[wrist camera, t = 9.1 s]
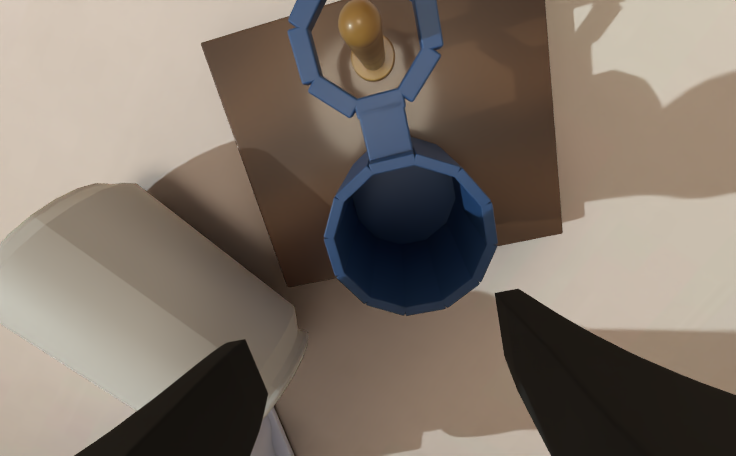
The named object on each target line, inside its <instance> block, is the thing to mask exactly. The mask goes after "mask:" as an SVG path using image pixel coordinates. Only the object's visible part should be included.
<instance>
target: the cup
mask: <svg viewBox="0 0 736 456" xmlns="http://www.w3.org/2000/svg"><path fill="white" fill-rule="evenodd" d="M326 1H327V0H297V1H296V3H295V5H294V7H293V10H292V12H291V14H290V16H289V18H288V21H289V23H290V24H292V25H293V26H294V27H295V28H292V29H289V30H288V36H289V40H290V44H291V47H292V51H293V54H294V58H295V61H296V65H297V68H298V72H299V75H300V79H301V82H302V84H303V85H310V87H309V89H308V92H309V93H310V94H311V95H313V96H315V97H316V98H318V99H319V100H321V101H323V102H324V103H326V104H327V105H329V106H331V107H332V108H334V109H335V110H337V111H338V112H340V113H342V114H343V115H345V116H346V117H348V118H352V117H353V116H354V114H355V112H356V115H357V118H358V119H359V120H360V124H361V128H362V133H363V137H364V141H365V145H366V149H367V151H366V152H365V153H364V154H363V155H362V156H361V157H360V158H359V159H358V160H357V161H356V162H355V163H354V164H353V166H352V167H351V169H350V171H349V172H348V174H347V176H346V178H345V179H344V181H343V183H342V185H341V186H340V188H339V190H338V192H337V193H336V195H335V197H334V199H333V203H332V206H331V210H330V214H329V218H328V222H327V225H326V229H325V233H324V237H325V238H324V242H325V245H326V248H327V252H328V255H329V258H330V261H331V265H332V268H333V271H334V274H335V276H337V277H336V278H337V279H338V280H339V281H340V282H341V283H342V284H343V285H345V286H346V287H347V288H348V289H349V290H350V291H351V292H352V293H353V294H354V295H355V296H356V297H357V298H358V299H360V300H361V301H362V302H363V303H364V304H365V303H366V305H368V306H371V307H375V308H378V309H382V310H385V311H389V312H393V313H396V314H400V315H405V314H406V316H408V315H414V314H419V313H425V312H431V311H436V310H442V309H445V308H446V307H447V308H448V307H450V306H451V305H452V304H454V303H455V302H456V301H458V300H459V299H460V298H462V297H463V296H464V295H466V294H467V293H468V292H470V291H471V290H472V289H474V288H475V287H476V286H478V285H479V282H481V281H482V279H483V277H484V275H485V273H486V270H487V268H488V266H489V264H490V261H491V259H492V257H493V255H494V253H495V250H496V248H497V245H496V244H497V243H498V240H497V232H496V225H495V218H494V211H493V204H492V202H491V200H490V198H489V197H488V196H487V195H486V194H485V193H484V192H483V190H482V189H481V188H480V187H479V186H478V185H477V184H476V182H475V181H474V180H473V179H472V178H471V177H470V176H469V175H468V173H467V172H466V171H465V170H464V169H463V168H462V167H461V166H460V165H459V164H458V163H457V162H456V161H455V160H453V159H452V158H451V157H450V156H449V155H448V154H447V153H446V152H445V151H444V150H443V149H442V148H440V147H439V146H438V145H436V144H433V143H430V142H427V141H424V140H420V139H417V138H414V137H411V136H410V131H409V126H408V121H407V116H406V111H405V107H406V103H405V99H407V100H408V101H410V102H413V101H414V100H415V98H416V97H417V95H418V94H419V92H420V90H421V89H422V87H423V85H424V84H425V82H426V80H427V79H428V77H429V76H430V74H431V72H432V71H433V69H434V67H435V66H436V64H437V62H438V61H439V59H440V58H441V54H440V53H439V52H437V51H436V50H438V49H440V48H441V47H442V46H443V37H442V31H441V25H440V19H439V13H438V7H437V0H410V1H411V2H412V5H413V11H414V16H415V22H416V27H417V33H418V38H419V44H420V51H419V53H418V55H417V56H416V58H415V60H414V61H413V63H412V65H411V66H410V68H409V70H408V72H407V73H406V75H405V77H404V78H403V80H402V82H401V83H400V85H399V87H398V88H395V89H392V90H388V91H384V92H380V93H377V94H373V95H369V96H365V97H362V98H356V97H355V96H353V95H351V94H350V93H348V92H347V91H345V90H344V89H342V88H341V87H339V86H337V85H336V84H334V83H333V82H331V81H330V80H328V79H326V78H325V77H323V74H322V70H321V66H320V63H319V59H318V55H317V51H316V48H315V44H314V40H313V36H312V30H313V28H314V26H315V23H316V21H317V19H318V17H319V15H320V13H321V11H322V9H323V7H324V5H325V3H326ZM445 306H446V307H445Z"/></svg>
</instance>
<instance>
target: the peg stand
mask: <svg viewBox="0 0 736 456" xmlns="http://www.w3.org/2000/svg"><path fill="white" fill-rule="evenodd" d="M437 7H438V13H439V19H440V25H441V31H442V37H443V46H442V47H441V48H440V49H438V50H436V51H437V52H439V53H440V54H441V58H440V59H439V61H438V62H437V64H436V66H435V67H434V69H433V71H432V72H431V74H430V76H429V77H428V79H427V80H426V82H425V84H424V85H423V87H422V89H421V90H420V92H419V94H418V95H417V97H416V98H415V100H414V101H413V102H410V101H408V100H407V99H405V103H406V107H405V111H406V116H407V121H408V126H409V131H410V136H411V137H414V138H417V139H420V140H424V141H427V142H430V143H433V144H436V145H438V146H439V147H440V148H442V149H443V150H444V151H445V152H446V153H447V154H448V155H449V156H450V157H451V158H452V159H453V160H455V161H456V162H457V163H458V164H459V165H460V166H461V167H462V168H463V169H464V170H465V171H466V172H467V173H468V175H469V176H470V177H471V178H472V179H473V180H474V181H475V182H476V184H477V185H478V186H479V187H480V188H481V189H482V190H483V192H484V193H485V194H486V195H487V196H488V197H489V198H490V200H491V202H492V204H493V211H494V218H495V225H496V232H497V240H498V243H497V244H496V245H497V246H501V245H506V244H511V243H516V242H521V241H526V240H531V239H536V238H541V237H546V236H551V235H557V234H562V232H563V231H562V218H561V205H560V192H559V179H558V166H557V153H556V140H555V127H554V114H553V101H552V88H551V75H550V62H549V49H548V36H547V23H546V10H545V0H437ZM288 18H289V16H288V17H285V18H281V19H278V20H275V21H272V22H268V23H265V24H262V25H258V26H255V27H252V28H249V29H245V30H242V31H239V32H235V33H232V34H229V35H226V36H222V37H219V38H216V39H212V40H209V41H206V42H203V43H201V46H202V49H203V51H204V54H205V57H206V60H207V63H208V65H209V68H210V71H211V74H212V77H213V79H214V82H215V85H216V88H217V91H218V93H219V96H220V99H221V102H222V105H223V107H224V110H225V113H226V116H227V119H228V121H229V124H230V127H231V130H232V133H233V135H234V138H235V141H236V144H237V147H238V149H239V152H240V155H241V158H242V161H243V163H244V166H245V169H246V172H247V175H248V177H249V180H250V183H251V186H252V189H253V191H254V194H255V197H256V200H257V203H258V205H259V208H260V211H261V214H262V217H263V220H264V222H265V225H266V228H267V231H268V234H269V236H270V239H271V242H272V245H273V248H274V250H275V253H276V256H277V259H278V262H279V264H280V267H281V270H282V273H283V276H284V278H285V281H286V284H287V287H293V286H298V285H303V284H308V283H314V282H319V281H324V280H329V279H334V278H336V277H337V276H335V274H334V271H333V268H332V265H331V261H330V258H329V255H328V252H327V248H326V245H325V242H324V238H325V237H324V233H325V229H326V225H327V222H328V218H329V214H330V210H331V206H332V203H333V199H334V197H335V195H336V193H337V192H338V190H339V188H340V186H341V185H342V183H343V181H344V179H345V178H346V176H347V174H348V172H349V171H350V169H351V167H352V166H353V164H354V163H355V162H356V161H357V160H358V159H359V158H360V157H361V156H362V155H363V154H364V153H365V152H366V151H367V149H366V145H365V141H364V137H363V133H362V128H361V124H360V120H359V119H358V118H357V115H356V112H355V114H354V116H353V117H352V118H348V117H346V116H345V115H343V114H342V113H340V112H338V111H337V110H335V109H334V108H332V107H331V106H329V105H327V104H326V103H324V102H323V101H321V100H319V99H318V98H316V97H315V96H313V95H311V94H310V93H309V92H308V89H309V87H310V85H303V84H302V82H301V79H300V75H299V72H298V68H297V65H296V61H295V58H294V54H293V51H292V47H291V44H290V40H289V36H288V30H289V29H292V28H295V27H294V26H293V25H292V24H290V23H289V21H288ZM312 36H313V40H314V44H315V48H316V51H317V55H318V59H319V63H320V66H321V70H322V74H323V77H325V78H326V79H328V80H330V81H331V82H333V83H334V84H336V85H337V86H339V87H341V88H342V89H344V90H345V91H347V92H348V93H350V94H351V95H353V96H355V97H356V98H362V97H365V96H369V95H373V94H377V93H380V92H384V91H388V90H392V89H395V88H398V87H399V85H400V83H401V82H402V80H403V78H404V77H405V75H406V73H407V72H408V70H409V68H410V66H411V65H412V63H413V61H414V60H415V58H416V56H417V55H418V53H419V51H420V44H419V38H418V33H417V27H416V22H415V16H414V11H413V5H412V2H411V1H410V0H341V1H337V2H334V3H331V4H327V5H324V7H323V9H322V11H321V13H320V15H319V17H318V19H317V21H316V23H315V26H314V28H313V30H312Z"/></svg>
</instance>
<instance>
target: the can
mask: <svg viewBox="0 0 736 456" xmlns="http://www.w3.org/2000/svg"><path fill="white" fill-rule="evenodd" d="M0 324H1V325H2V326H4V327H6V328H7V329H9V330H10V331H12V332H13V333H15V334H17V335H18V336H20V337H21V338H23V339H24V340H26V341H27V342H29V343H31V344H32V345H34V346H35V347H37V348H38V349H40V350H42V351H43V352H45V353H46V354H48V355H49V356H51V357H52V358H54V359H56V360H57V361H59V362H60V363H62V364H63V365H65V366H67V367H68V368H70V369H71V370H73V371H74V372H76V373H78V374H79V375H81V376H82V377H84V378H85V379H87V380H88V381H90V382H92V383H93V384H95V385H96V386H98V387H99V388H101V389H103V390H104V391H106V392H107V393H109V394H110V395H112V396H113V397H115V398H117V399H118V400H120V401H121V402H123V403H124V404H126V405H128V406H129V407H131V408H132V409H134V410H135V411H138V410H139V409H140V408H142V407H143V406H144V405H146V404H147V403H148V402H150V401H151V400H152V399H154V398H155V397H156V396H158V395H159V394H160V393H161V392H163V391H164V390H165V389H166V388H168V387H169V386H170V385H171V384H173V383H174V382H175V381H176V380H178V379H179V378H180V377H181V376H183V375H184V374H185V373H186V372H188V371H189V370H190V369H191V368H193V367H194V366H195V365H196V364H198V363H199V362H200V361H201V360H203V359H204V358H205V357H207V356H208V355H209V354H210V353H212V352H213V351H214V350H216V349H217V348H219V347H220V346H222V345H223V344H225V343H227V342H232V341H237V340H243V339H246V342H247V344H248V347H249V349H250V351H251V354H252V356H253V358H254V361H255V363H256V365H257V368H258V370H259V373H260V375H261V377H262V380H263V382H264V384H265V387H266V389H267V392H268V397H267V402H266V407H265V411H264V416H263V419H264V418H265V417H266V416H267V415H268V413H269V412H270V410H271V409H272V408H273V406H274V405H275V404H276V402H277V401H278V399H279V398H280V397H281V395H282V394H283V392H284V391H285V389H286V387H287V386H288V384H289V382H290V381H291V379H292V378H293V376H294V374H295V372H296V370H297V368H298V366H299V364H300V362H301V360H302V358H303V356H304V353H305V350H306V347H307V345H308V332H306V331H305V330H304V329H301V330H299V329H298V326H297V320H296V313H295V307H294V306H293V305H292V304H291V303H289V302H288V301H287V300H286V299H284V298H283V297H282V296H280V295H279V294H278V293H277V292H275V291H274V290H273V289H271V288H270V287H269V286H268V285H266V284H265V283H264V282H262V281H261V280H260V279H259V278H257V277H256V276H255V275H253V274H252V273H251V272H250V271H248V270H247V269H246V268H244V267H243V266H242V265H241V264H239V263H238V262H237V261H235V260H234V259H233V258H231V257H230V256H229V255H228V254H226V253H225V252H224V251H222V250H221V249H220V248H219V247H217V246H216V245H215V244H213V243H212V242H211V241H210V240H208V239H207V238H206V237H204V236H203V235H202V234H201V233H199V232H198V231H197V230H195V229H194V228H193V227H192V226H190V225H189V224H188V223H186V222H185V221H184V220H183V219H181V218H180V217H179V216H177V215H176V214H175V213H174V212H172V211H171V210H170V209H168V208H167V207H166V206H164V205H163V204H162V203H161V202H159V201H158V200H157V199H155V198H154V197H153V196H152V195H150V194H149V193H148V192H146V191H145V190H144V189H143V188H141V187H140V186H139V185H137V184H133V183H120V184H101V183H95V184H91V185H88V186H84V187H81V188H77V189H75V190H73V191H71V192H69V193H67V194H65V195H63V196H61V197H59V198H57V199H55V200H53V201H52V202H50V203H49V204H47V205H46V206H44V207H43V208H41V209H40V210H38V211H37V212H35V213H34V214H32V215H31V216H30V217H28V218H27V219H26V220H25V221H24V222H22V223H21V224H20V225H19V226H18V227H17V228H15V229H14V230H13V231H12V232H11V233H9V234H8V236H7V237H6V238H5V239H4V240H3V241H2V242H1V243H0ZM263 419H262V420H263Z"/></svg>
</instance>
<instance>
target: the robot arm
mask: <svg viewBox="0 0 736 456" xmlns="http://www.w3.org/2000/svg"><path fill="white" fill-rule="evenodd" d="M495 298H496V304H497V311H498V317H499V324H500V330H501V337H502V344H503V350H504V356H505V359H506V361H507V364H508V367H509V369H510V372H511V375H512V377H513V380H514V382H515V385H516V388H517V390H518V392H519V394H520V396H521V398H522V400H523V402H524V404H525V406H526V408H527V410H528V412H529V414H530V416H531V418H532V420H533V422H534V424H535V425H536V427H537V429H538V431H539V433H540V435H541V437H542V439H543V441H544V443H545V445H546V447H547V449H548V451H549V452H550V454H551V456H736V395H734V394H731V393H728V392H725V391H723V390H720V389H717V388H714V387H712V386H709V385H706V384H703V383H701V382H698V381H696V380H693V379H691V378H688V377H685V376H683V375H680V374H678V373H676V372H673V371H671V370H669V369H666V368H664V367H662V366H659V365H657V364H655V363H652V362H650V361H648V360H645V359H643V358H641V357H639V356H637V355H634V354H632V353H630V352H628V351H626V350H624V349H622V348H620V347H618V346H616V345H614V344H612V343H610V342H608V341H606V340H604V339H602V338H600V337H598V336H596V335H594V334H593V333H591V332H589V331H587V330H585V329H584V328H582V327H580V326H578V325H576V324H575V323H573V322H571V321H569V320H568V319H566V318H564V317H563V316H561V315H559V314H558V313H556V312H554V311H553V310H551V309H550V308H548V307H546V306H545V305H543V304H542V303H540V302H538V301H537V300H535V299H534V298H532V297H531V296H529V295H527V294H526V293H524V292H523V291H521V290H519V289H515V290H509V291H504V292H498V293H495ZM267 397H268V392H267V389H266V387H265V384H264V382H263V380H262V377H261V375H260V373H259V370H258V368H257V365H256V363H255V361H254V358H253V356H252V354H251V351H250V349H249V347H248V344H247V342H246V339H243V340H237V341H232V342H227V343H225V344H223V345H222V346H220V347H219V348H217V349H216V350H214V351H213V352H212V353H210V354H209V355H208V356H207V357H205V358H204V359H203V360H201V361H200V362H199V363H198V364H196V365H195V366H194V367H193V368H191V369H190V370H189V371H188V372H186V373H185V374H184V375H183V376H181V377H180V378H179V379H178V380H176V381H175V382H174V383H173V384H171V385H170V386H169V387H168V388H166V389H165V390H164V391H163V392H161V393H160V394H159V395H158V396H156V397H155V398H154V399H152V400H151V401H150V402H148V403H147V404H146V405H144V406H143V407H142V408H140V409H139V410H138V411H137V412H135V413H134V414H133V415H131V416H130V417H129V418H127V419H126V420H125V421H123V422H122V423H121V424H119V425H118V426H117V427H115V428H114V429H112V430H111V431H110V432H108V433H107V434H105V435H104V436H103V437H101V438H100V439H98V440H97V441H95V442H94V443H92V444H91V445H89V446H88V447H87V448H85V449H84V450H82V451H81V452H79V453H78V454H76V455H75V456H294V454H293V451H292V449H291V447H290V444H289V442H288V439H287V437H286V435H285V432H284V430H283V428H282V425H281V423H280V420H279V418H278V416H277V413H276V411H275V409H274V406H273V408H272V409H271V410H270V412H269V413H268V415H267V416H266V417H265V418H264V419H263V416H264V411H265V407H266V402H267ZM262 419H263V420H262Z"/></svg>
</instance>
